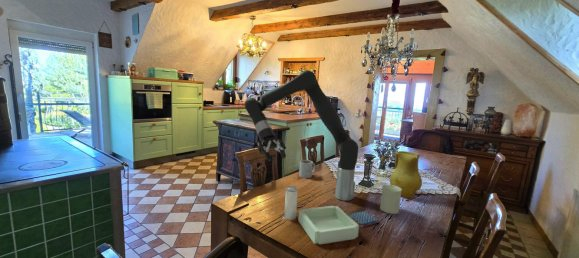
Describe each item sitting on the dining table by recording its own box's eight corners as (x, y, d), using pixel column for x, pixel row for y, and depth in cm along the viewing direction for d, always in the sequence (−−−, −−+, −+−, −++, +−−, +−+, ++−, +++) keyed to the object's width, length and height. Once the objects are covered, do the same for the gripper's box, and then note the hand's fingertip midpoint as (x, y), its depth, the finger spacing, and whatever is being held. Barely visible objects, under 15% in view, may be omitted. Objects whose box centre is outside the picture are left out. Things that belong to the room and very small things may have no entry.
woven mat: (362, 213, 125) (363, 209, 125) (379, 224, 116) (380, 220, 116) (346, 217, 121) (346, 213, 120) (362, 228, 111) (362, 224, 111)
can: (398, 207, 133) (401, 185, 131) (399, 215, 125) (402, 191, 123) (379, 204, 136) (382, 182, 134) (379, 211, 127) (382, 188, 126)
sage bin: (335, 215, 121) (336, 205, 120) (358, 238, 103) (360, 226, 102) (297, 219, 115) (298, 209, 114) (315, 245, 97) (316, 232, 96)
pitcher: (387, 195, 147) (394, 152, 144) (388, 186, 164) (394, 148, 161) (421, 202, 141) (428, 158, 138) (417, 192, 158) (424, 152, 155)
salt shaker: (293, 213, 121) (295, 185, 119) (297, 219, 116) (299, 189, 113) (282, 214, 119) (284, 186, 117) (286, 220, 114) (288, 190, 112)
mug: (302, 178, 168) (303, 163, 167) (296, 174, 176) (297, 160, 174) (318, 177, 173) (319, 162, 172) (312, 172, 181) (313, 159, 179)
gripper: (255, 127, 122) (268, 156, 115) (279, 126, 131) (292, 153, 124) (249, 136, 127) (261, 165, 120) (272, 134, 136) (285, 161, 129)
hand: (277, 159), depth 122 cm, fingers open, 8 cm apart
